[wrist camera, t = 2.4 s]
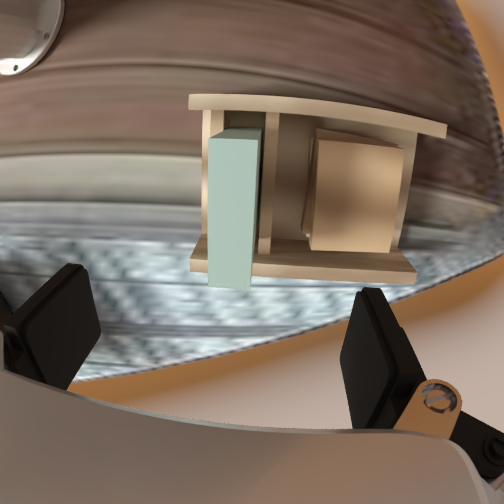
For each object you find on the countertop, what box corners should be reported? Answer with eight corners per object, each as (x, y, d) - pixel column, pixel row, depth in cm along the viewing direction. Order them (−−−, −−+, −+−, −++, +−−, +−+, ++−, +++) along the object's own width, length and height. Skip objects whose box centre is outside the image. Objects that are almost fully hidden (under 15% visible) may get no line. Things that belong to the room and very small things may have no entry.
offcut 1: (315, 127, 25) (318, 128, 24) (391, 142, 25) (398, 144, 24) (300, 226, 29) (301, 233, 28) (372, 235, 29) (377, 242, 28)
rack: (206, 97, 27) (188, 94, 21) (412, 119, 27) (447, 124, 20) (204, 239, 33) (190, 271, 27) (390, 251, 33) (414, 284, 27)
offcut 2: (316, 138, 24) (319, 140, 23) (397, 146, 24) (404, 149, 22) (308, 242, 28) (310, 250, 26) (383, 245, 28) (389, 252, 26)
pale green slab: (232, 126, 27) (208, 138, 16) (262, 127, 27) (257, 140, 16) (229, 220, 31) (208, 286, 20) (256, 222, 31) (250, 289, 20)
